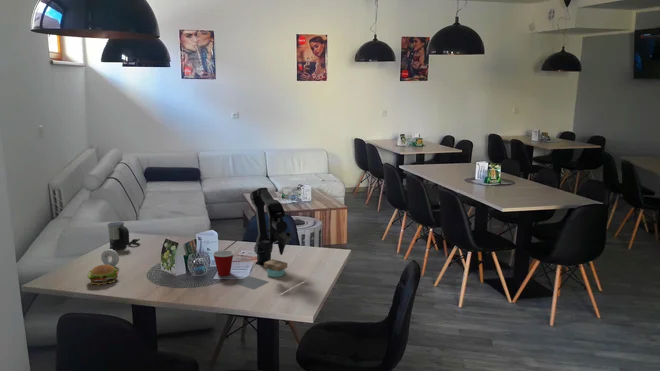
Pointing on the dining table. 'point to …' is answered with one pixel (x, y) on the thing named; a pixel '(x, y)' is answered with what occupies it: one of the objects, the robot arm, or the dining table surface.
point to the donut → (113, 254)
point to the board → (275, 265)
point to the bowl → (275, 273)
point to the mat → (251, 282)
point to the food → (103, 274)
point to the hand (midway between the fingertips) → (275, 257)
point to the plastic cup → (223, 262)
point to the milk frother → (119, 235)
